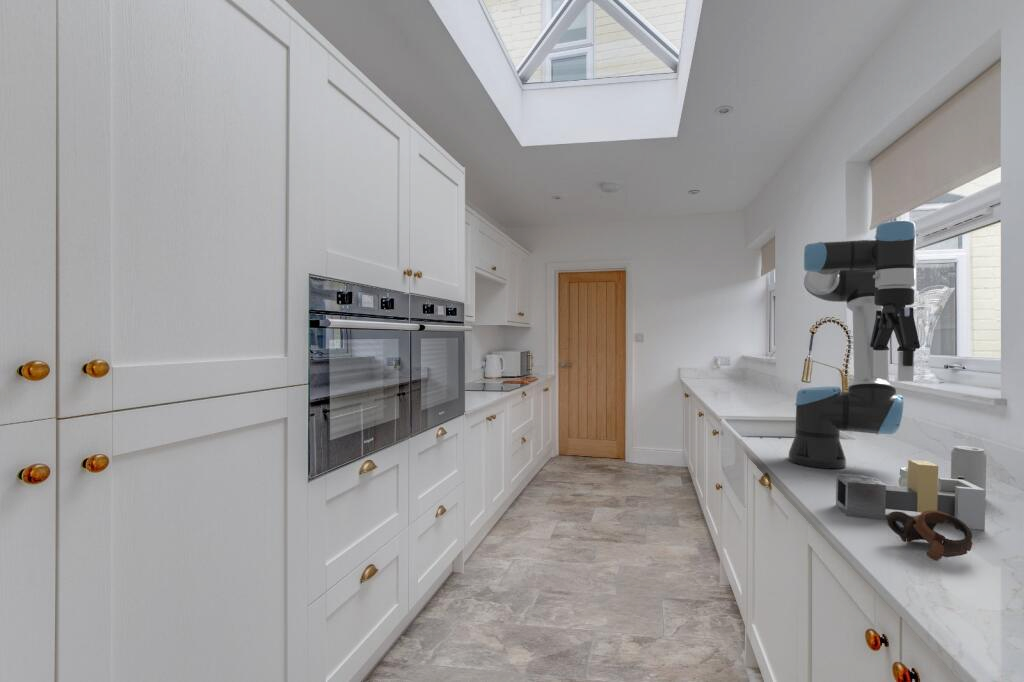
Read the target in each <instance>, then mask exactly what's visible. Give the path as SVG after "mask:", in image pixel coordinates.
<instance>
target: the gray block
mask: <svg viewBox="0 0 1024 682" xmlns="http://www.w3.org/2000/svg"><path fill="white" fill-rule="evenodd" d="M835 481H836V484H835V506H836V505H837V506H838V507H839V508H840V509H839V508H838V507H837V506H836V507H837V508H838V509H839V510H840V511H841V510H842V511H843V514H844V515H846V516H847V517H853V516H854V518H862V519H863V518H865V519H866V518H867V519H873V518H874V520H883V519H884V520H885V521H886V509H885V508H886V486H887V485H886V484H885V483H884V482H882V481H881V480H879V479H878V478H877V477H874V476H872V475H862V474H852V473H851V474H850V473H837V472H836V480H835ZM842 511H841V512H842Z"/></svg>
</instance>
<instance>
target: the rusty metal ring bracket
mask: <svg viewBox="0 0 1024 682" xmlns="http://www.w3.org/2000/svg"><path fill="white" fill-rule="evenodd" d="M885 521H887V522H886V523H887V525H888V527H889V528H890V529H891V531H893V533H895V534H896V535H898V536H899V538H900V539H901V541H902V542H904V543H906V542H907V543H908V542H909V543H911V542H913V541H920V540H921V541H926V542H927V543H928V544H929V545H930V546H929V549H928V550H927V551H926V556H927V557H928V558H930V559H932V560H933V561H939V560H941V559H942V558H943V557H944V558H951V557H953V558H954V557H958V556H959V557H960V556H963V555H967V554H968V552H970V551H971V550H972V547H973V544H974V543H973V541H972V538H973V533H972V530H970V529H969V528H968V527H967V525H966V524H965V523H963V522H962V521H961V520H959V519H958V518H956V517H954V516H952V515H949V514H947V513H944V512H940V511H933V510H930V511H924V512H923V513H920V514H917V515H915V516H911V515H909V514H906V513H905V512H903V511H899V510H895V511H892V512H889V514H888V515H887V516H886V517H885ZM948 521H949V523H950V524H951V525H953V527H954V529H955V530H957V531H959V532H961V533H963V534H964V537H963V538H962V539H958V540H957V539H956V540H955V539H950V538H946V536H945V535H943V534H940V533H939V532H937V531H936V530H934V529H935V527H936V526H937V525H938V524H942V525H943V524H945V523H947V522H948ZM898 522H899V523H900V524H902V526H901V525H900V524H898Z"/></svg>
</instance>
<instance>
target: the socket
mask: <svg viewBox="0 0 1024 682" xmlns="http://www.w3.org/2000/svg"><path fill="white" fill-rule="evenodd" d="M938 490H943V491H955V515H952V516H954V517H956V518H958V519H959V520H961V521H962V522H963V523H965V524H966V525H967V527H968V528H969V529H971V530H978V531H979V530H981V531H982V530H983V531H985V529H986V527H985V526H986V497H985V495H986V493H987V491H986V490H987V489H986V490H984V489H982V488H980V487H978V486H976V485H973V484H971V483H969V482H967V481H965V480H960V479H951V478H945V477H944V478H943V477H938ZM986 496H987V495H986ZM947 522H949V521H947ZM949 523H950V522H949Z"/></svg>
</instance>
